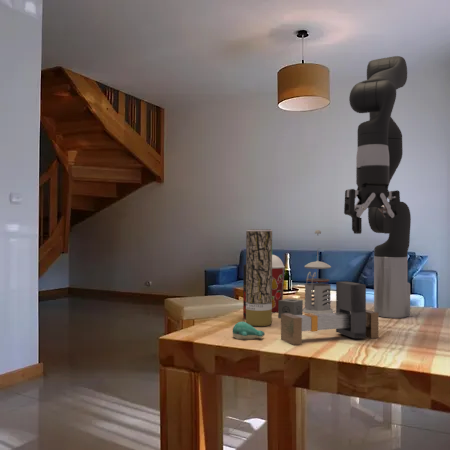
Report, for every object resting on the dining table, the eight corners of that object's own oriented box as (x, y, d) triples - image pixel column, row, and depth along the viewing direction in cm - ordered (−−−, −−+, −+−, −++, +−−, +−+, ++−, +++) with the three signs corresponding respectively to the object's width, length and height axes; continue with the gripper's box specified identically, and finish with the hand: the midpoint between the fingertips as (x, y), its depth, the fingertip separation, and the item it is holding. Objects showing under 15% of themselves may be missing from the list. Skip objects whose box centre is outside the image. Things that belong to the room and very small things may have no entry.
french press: (338, 310, 147) (338, 229, 148) (325, 315, 138) (325, 229, 138) (308, 307, 153) (309, 229, 153) (293, 312, 143) (294, 229, 143)
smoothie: (287, 309, 148) (287, 245, 148) (281, 314, 140) (281, 246, 140) (261, 308, 151) (261, 245, 151) (254, 312, 143) (254, 245, 143)
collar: (346, 331, 115) (346, 281, 115) (365, 337, 108) (365, 284, 108) (336, 331, 114) (336, 281, 114) (354, 338, 107) (354, 285, 107)
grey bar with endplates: (362, 332, 115) (362, 308, 115) (378, 337, 110) (378, 312, 110) (280, 339, 108) (281, 313, 108) (293, 345, 102) (293, 318, 102)
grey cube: (294, 320, 131) (294, 302, 131) (278, 318, 134) (278, 300, 134) (302, 317, 135) (302, 300, 135) (287, 315, 138) (287, 298, 138)
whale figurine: (238, 334, 113) (238, 318, 113) (267, 337, 110) (267, 321, 110) (228, 340, 108) (228, 323, 108) (259, 343, 105) (259, 325, 105)
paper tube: (270, 327, 120) (270, 229, 121) (243, 326, 122) (244, 229, 122) (273, 322, 127) (273, 229, 127) (247, 321, 128) (248, 229, 129)
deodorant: (241, 316, 135) (242, 264, 136) (262, 316, 136) (262, 264, 136) (244, 320, 129) (244, 265, 130) (266, 320, 130) (266, 265, 130)
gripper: (387, 168, 119) (387, 233, 119) (338, 166, 115) (338, 233, 114) (407, 165, 112) (407, 233, 112) (356, 162, 107) (356, 233, 107)
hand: (372, 233), depth 113 cm, fingers open, 8 cm apart
